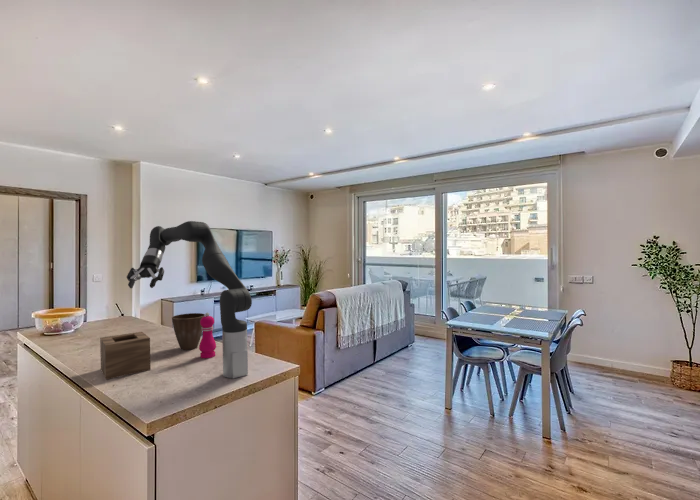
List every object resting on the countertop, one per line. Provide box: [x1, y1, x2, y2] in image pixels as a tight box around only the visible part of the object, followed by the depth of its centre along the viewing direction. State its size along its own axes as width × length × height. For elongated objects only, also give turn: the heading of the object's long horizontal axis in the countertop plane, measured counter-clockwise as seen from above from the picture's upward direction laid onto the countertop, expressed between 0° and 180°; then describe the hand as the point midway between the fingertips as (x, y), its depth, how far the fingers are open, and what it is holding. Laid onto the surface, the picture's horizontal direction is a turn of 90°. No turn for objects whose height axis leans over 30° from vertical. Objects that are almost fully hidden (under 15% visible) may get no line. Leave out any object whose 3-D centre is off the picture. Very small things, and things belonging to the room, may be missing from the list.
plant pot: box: [171, 312, 206, 351], centre depth 172 cm, size 15×15×16 cm
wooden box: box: [99, 331, 152, 380], centre depth 142 cm, size 15×15×13 cm
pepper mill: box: [198, 312, 217, 359], centre depth 158 cm, size 7×7×20 cm
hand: (140, 287), depth 152 cm, fingers open, 8 cm apart
